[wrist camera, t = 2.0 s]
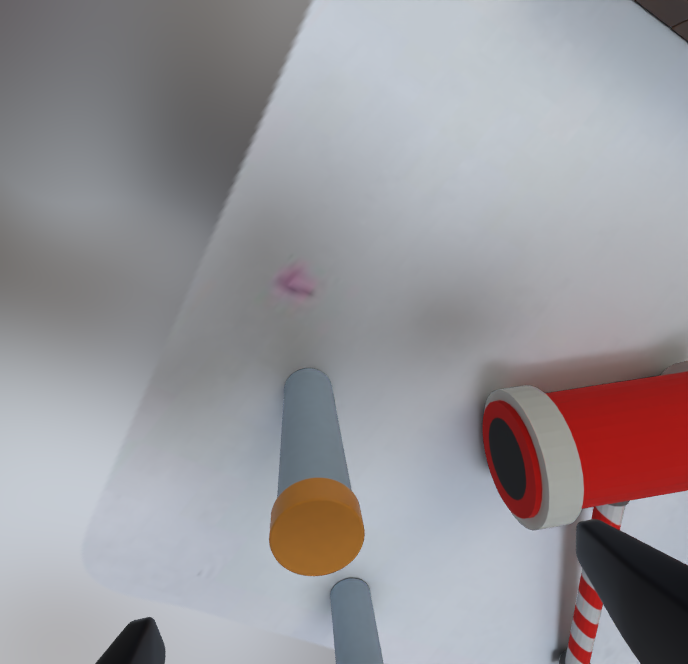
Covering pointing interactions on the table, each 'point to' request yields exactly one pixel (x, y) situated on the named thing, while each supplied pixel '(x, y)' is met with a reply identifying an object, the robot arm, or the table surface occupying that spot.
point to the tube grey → (354, 624)
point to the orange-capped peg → (313, 483)
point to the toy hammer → (587, 460)
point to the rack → (670, 13)
